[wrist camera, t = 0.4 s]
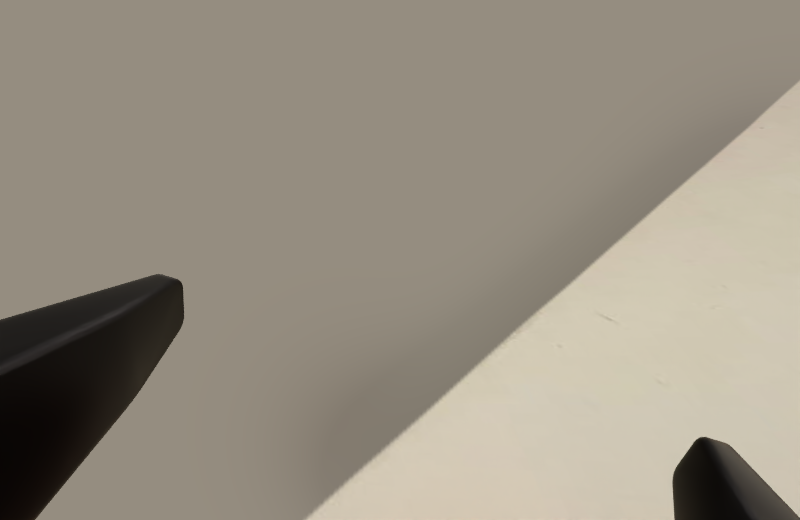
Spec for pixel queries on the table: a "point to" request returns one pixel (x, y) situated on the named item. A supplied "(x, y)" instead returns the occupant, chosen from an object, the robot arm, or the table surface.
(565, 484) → the table surface
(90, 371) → the robot arm
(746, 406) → the table surface
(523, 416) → the table surface
